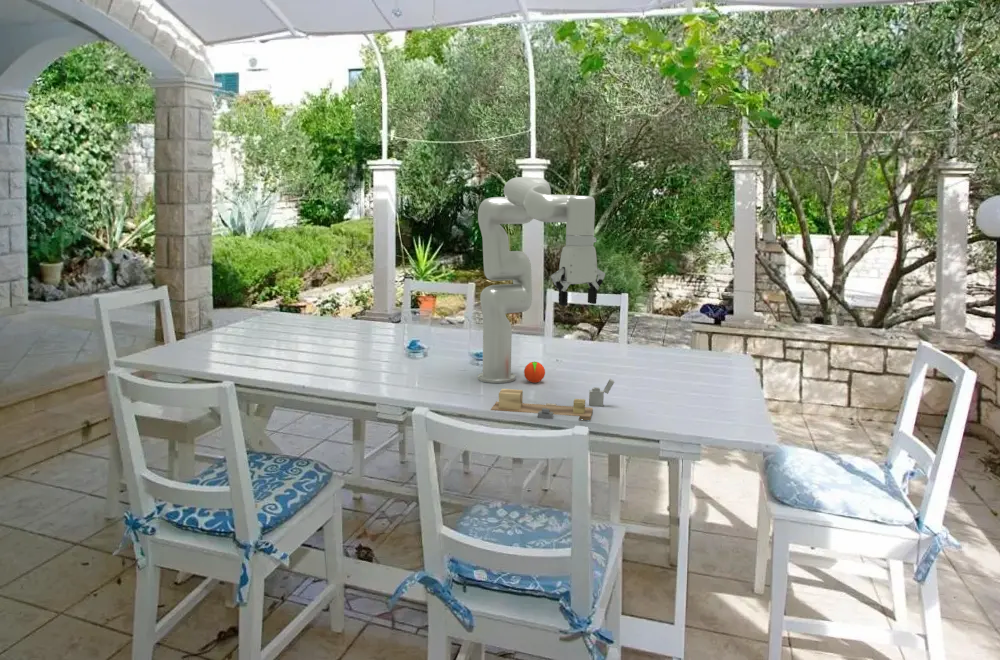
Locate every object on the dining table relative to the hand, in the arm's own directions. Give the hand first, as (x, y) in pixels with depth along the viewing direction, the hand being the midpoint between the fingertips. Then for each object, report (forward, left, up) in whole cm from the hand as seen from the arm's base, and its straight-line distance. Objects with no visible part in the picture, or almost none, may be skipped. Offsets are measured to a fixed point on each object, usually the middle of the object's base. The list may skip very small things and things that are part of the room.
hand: (577, 304), depth 205 cm
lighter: (-10, +7, -31) cm, 34 cm away
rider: (+2, -18, -30) cm, 35 cm away
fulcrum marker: (+9, -7, -31) cm, 33 cm away
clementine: (-32, -16, -31) cm, 48 cm away
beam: (+2, -9, -31) cm, 33 cm away
